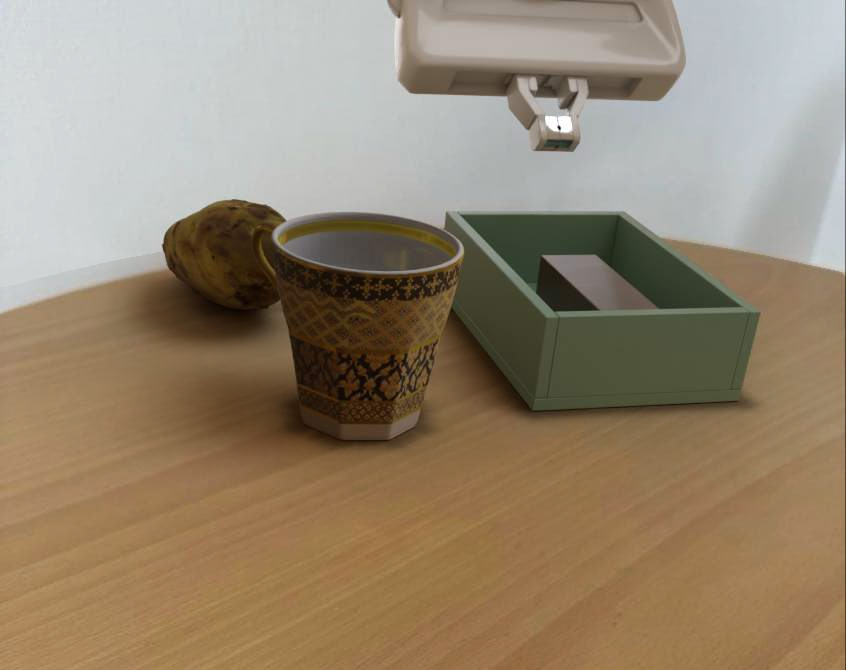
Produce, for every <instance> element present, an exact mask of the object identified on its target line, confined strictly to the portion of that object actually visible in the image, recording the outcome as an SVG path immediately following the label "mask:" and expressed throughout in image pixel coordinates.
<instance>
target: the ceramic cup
mask: <svg viewBox="0 0 846 670" xmlns="http://www.w3.org/2000/svg"><path fill="white" fill-rule="evenodd" d="M265 231H267V232H269V233H271V248H272V256H273V264H274V270H275V271H274V270H273V268H272V267H271V266H270V264H269V263H268V261H267V260H266V258H265V256H264V254H263V251H262V247H261V239H262V235H263V233H264V232H265ZM251 242H252V251H253V254H254V257H255V260H256V262H257V264H258V265H259V267H260V269H261V270H262V271H263V273H264V274H265V275H266V277H267V278H268V279H269V281H270V282H271V283H272V284H273V286H274V287H275V289H276V290H277V292H278V293H279V297H280V300H279V301H280V306H281V309H282V312H283V316H284V319H285V323H286V326H287V330H288V336H289V341H290V348H291V353H292V360H293V361H292V362H293V367H294V372H295V383H296V392H297V398H298V403H299V410H300V414H301V419H302V421H303V422H304V425H306V426H309V427H310V428H312V429H316V431H320V432H322V433H324V434H327V435H329V436H332V437H334V438H336V439H339V440H341V441H342V440H343V441H389V440H392V439H393V438H395V437H398V436H400V435H401V434H403V433H405V432H407V431H408V430H411V429H412V428H414V427H415V426H416V424H417V422H418V420H419V417H420V414H421V410H422V407H423V405H424V400H425V396H426V393H427V389H428V388H427V387H428V385H429V381H430V378H431V374H432V370H433V367H434V364H435V360H436V357H437V353H438V349H439V346H440V345H439V344H440V342H441V337H442V334H443V331H444V329H445V327H446V324H447V320H448V318H449V315H450V313H451V309H452V308H451V305H452V301H453V298H454V294H455V291H456V287H457V283H458V280H459V275H460V270H461V266H462V261H463V256H464V248H463V245H462V244H461V242H460V241H459V240H458V239H457V238H456V237H455V236H453V235H452V234H450V233H449V232H447V231H445V230H444V228H441V227H438V226H436V225H433V224H431V223H427V222H424V221H421V220H418V219H414V218H409V217H404V216H399V215H393V214H386V213H379V212H378V213H377V212H367V211H366V212H365V211H364V212H363V211H329V212H318V213H312V214H305V215H301V216H297V217H294V218H291V219H288V220H286V222H284V223H283V222H279V221H264V222H262V223H260V224H258V226H257V227H256V228H255V230H254V232H253V235H252V241H251Z"/></svg>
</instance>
